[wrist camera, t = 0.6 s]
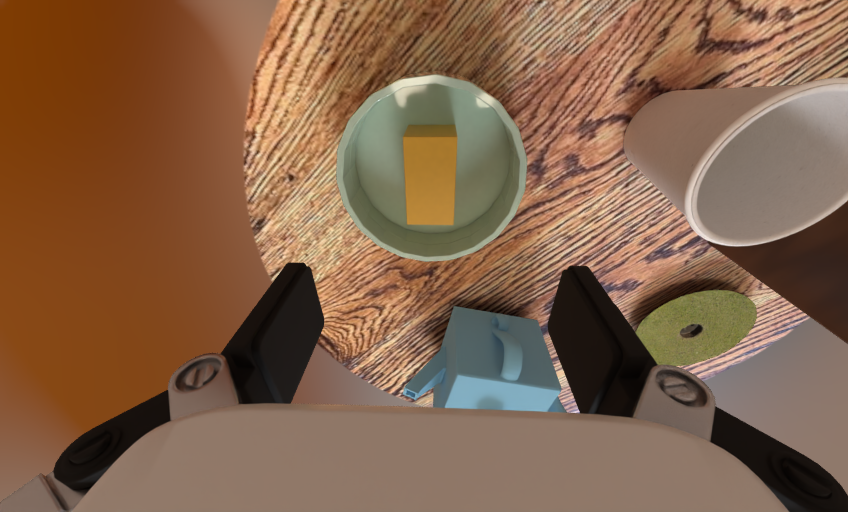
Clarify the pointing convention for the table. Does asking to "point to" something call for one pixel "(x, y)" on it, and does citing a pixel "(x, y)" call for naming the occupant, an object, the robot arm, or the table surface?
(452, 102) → the bowl
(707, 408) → the robot arm
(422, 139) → the yellow rectangular block
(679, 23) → the table surface
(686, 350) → the mat
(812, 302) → the stand
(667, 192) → the dixie cup
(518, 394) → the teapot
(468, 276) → the table surface
